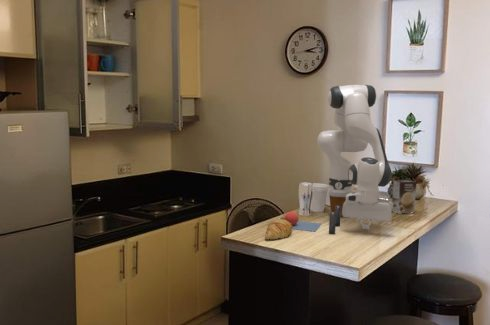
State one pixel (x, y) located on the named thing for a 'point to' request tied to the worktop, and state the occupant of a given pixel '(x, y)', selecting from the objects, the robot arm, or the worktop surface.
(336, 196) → the disposable coffee cup
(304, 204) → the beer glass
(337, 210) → the post
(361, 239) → the worktop surface
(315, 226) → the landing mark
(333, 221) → the post
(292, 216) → the ball
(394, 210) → the coffee box
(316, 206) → the foam cup
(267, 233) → the croissant
